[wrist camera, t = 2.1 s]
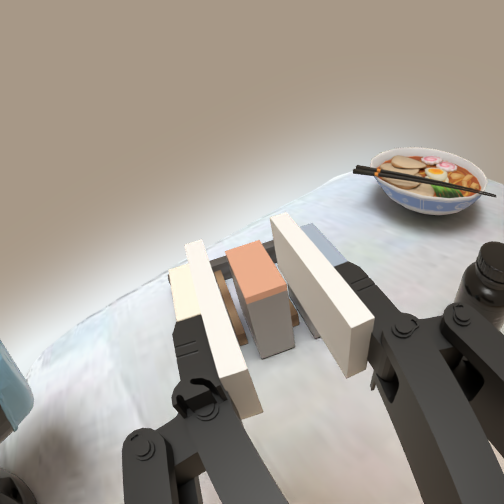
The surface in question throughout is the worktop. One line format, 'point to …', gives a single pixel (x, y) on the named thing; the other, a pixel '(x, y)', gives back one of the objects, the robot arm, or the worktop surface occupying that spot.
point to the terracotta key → (262, 298)
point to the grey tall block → (183, 293)
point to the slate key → (330, 255)
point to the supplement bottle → (485, 284)
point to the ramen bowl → (427, 179)
